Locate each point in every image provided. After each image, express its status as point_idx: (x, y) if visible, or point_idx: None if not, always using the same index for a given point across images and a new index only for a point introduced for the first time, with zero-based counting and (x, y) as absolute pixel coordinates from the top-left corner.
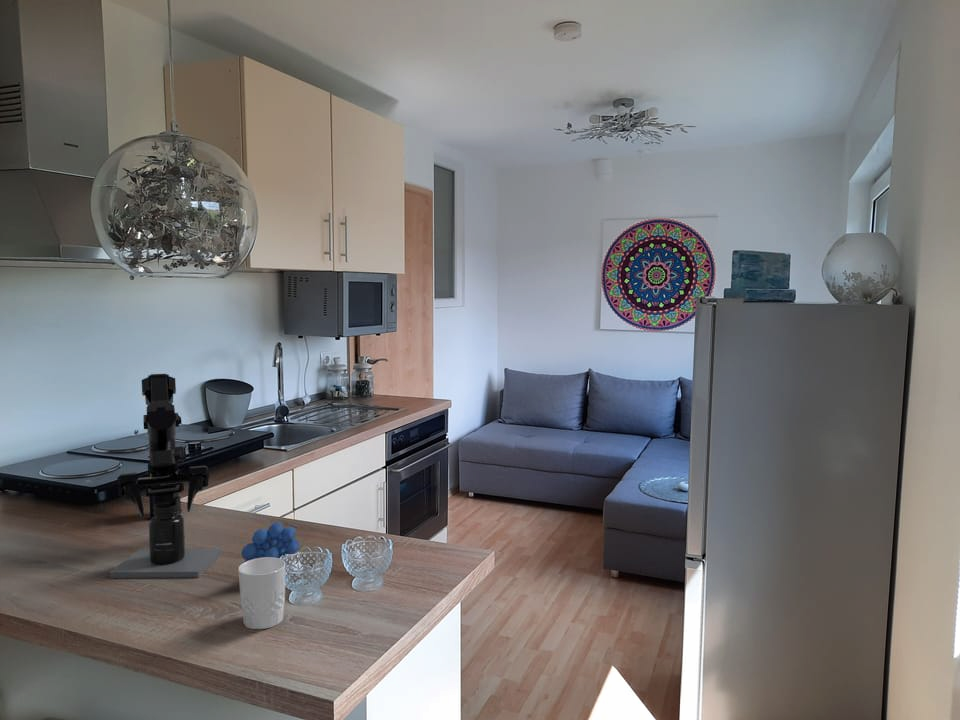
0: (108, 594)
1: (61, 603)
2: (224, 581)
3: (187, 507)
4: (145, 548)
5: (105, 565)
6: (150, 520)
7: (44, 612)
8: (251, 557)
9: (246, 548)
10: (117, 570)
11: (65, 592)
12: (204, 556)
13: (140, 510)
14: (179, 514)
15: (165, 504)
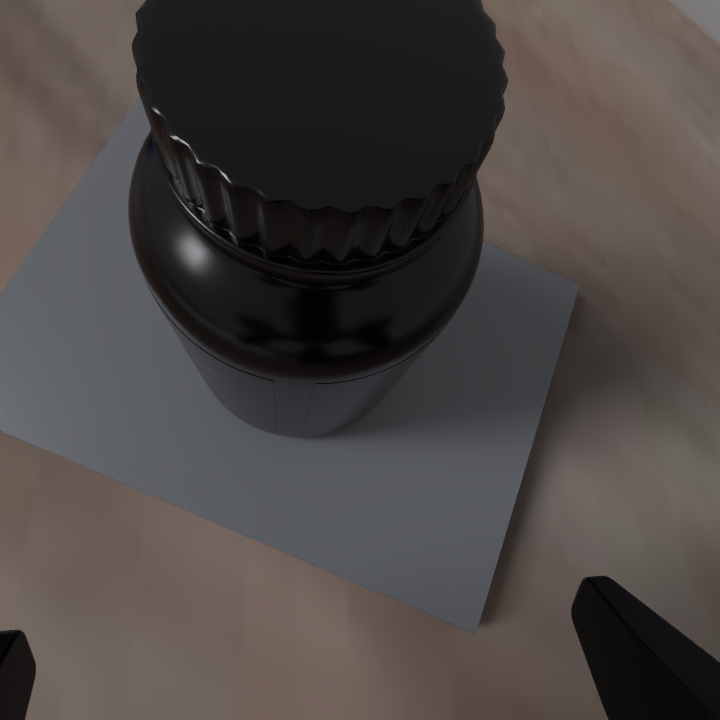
0: (529, 120)
1: (678, 122)
2: (40, 14)
3: (5, 687)
4: (448, 622)
5: (626, 494)
6: (478, 196)
7: (707, 77)
8: None
9: None
10: (546, 291)
11: (700, 219)
12: (78, 289)
13: (665, 625)
14: (163, 205)
15: (342, 53)
